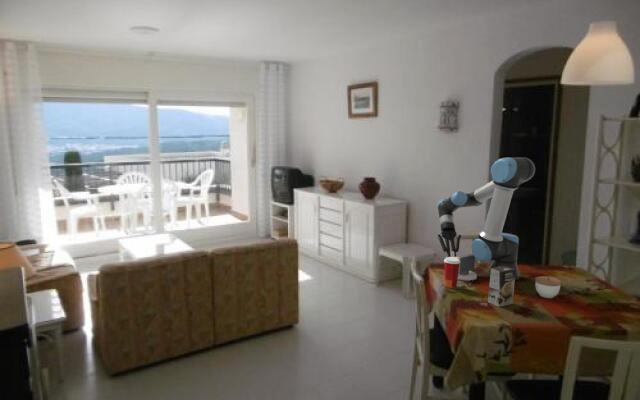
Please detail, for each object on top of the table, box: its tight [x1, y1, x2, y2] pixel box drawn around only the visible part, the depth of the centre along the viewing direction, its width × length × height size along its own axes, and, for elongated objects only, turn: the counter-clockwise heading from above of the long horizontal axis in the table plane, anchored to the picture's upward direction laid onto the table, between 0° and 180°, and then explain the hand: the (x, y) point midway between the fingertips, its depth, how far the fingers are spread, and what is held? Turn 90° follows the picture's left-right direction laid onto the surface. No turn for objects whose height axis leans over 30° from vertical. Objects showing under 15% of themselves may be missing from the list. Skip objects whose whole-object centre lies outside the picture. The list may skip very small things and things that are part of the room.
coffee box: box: [487, 266, 516, 307], centre depth 201 cm, size 9×6×16 cm
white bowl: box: [534, 275, 562, 299], centre depth 211 cm, size 11×11×9 cm
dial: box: [455, 253, 476, 275], centre depth 237 cm, size 14×6×9 cm, turn 121°
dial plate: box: [457, 270, 478, 282], centre depth 238 cm, size 14×14×2 cm
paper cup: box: [443, 256, 460, 289], centre depth 222 cm, size 8×8×14 cm
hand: (453, 263), depth 237 cm, fingers closed
